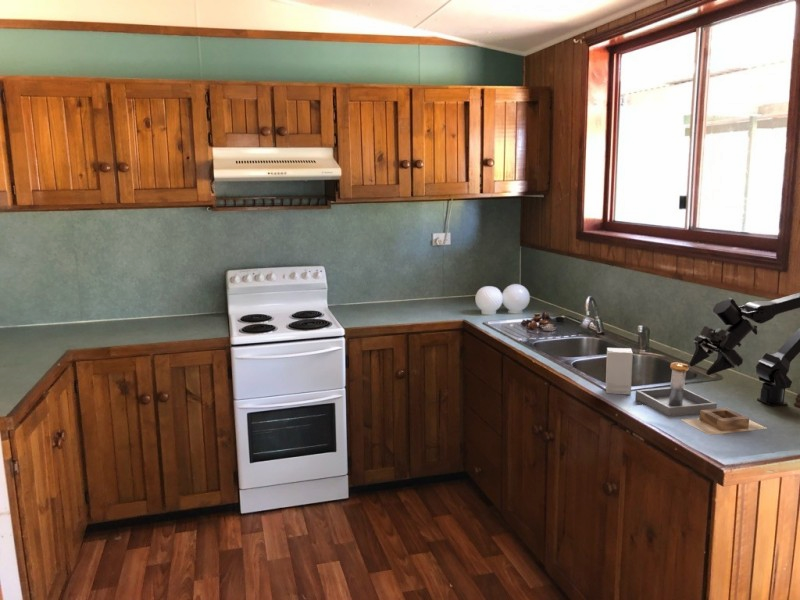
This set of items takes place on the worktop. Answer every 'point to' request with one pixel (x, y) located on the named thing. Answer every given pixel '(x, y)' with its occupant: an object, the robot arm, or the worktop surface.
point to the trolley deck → (714, 431)
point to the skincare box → (619, 370)
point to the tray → (661, 403)
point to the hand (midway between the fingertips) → (698, 369)
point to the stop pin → (677, 383)
